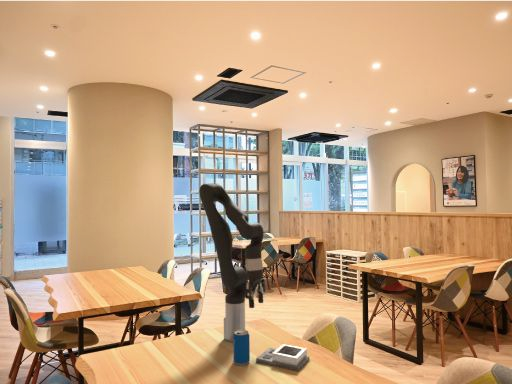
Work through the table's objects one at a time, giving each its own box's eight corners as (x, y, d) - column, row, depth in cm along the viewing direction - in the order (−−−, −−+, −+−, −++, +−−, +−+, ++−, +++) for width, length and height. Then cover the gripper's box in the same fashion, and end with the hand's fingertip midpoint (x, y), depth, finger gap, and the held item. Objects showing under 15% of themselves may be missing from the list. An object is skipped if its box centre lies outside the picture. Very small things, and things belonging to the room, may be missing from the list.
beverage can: (231, 360, 151) (231, 330, 151) (246, 358, 153) (246, 328, 154) (236, 367, 145) (236, 335, 145) (252, 364, 147) (251, 333, 148)
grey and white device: (256, 362, 149) (256, 350, 149) (269, 351, 160) (269, 340, 160) (298, 371, 141) (297, 359, 141) (309, 359, 151) (309, 348, 151)
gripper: (254, 265, 174) (256, 300, 173) (238, 270, 161) (240, 309, 160) (268, 265, 170) (271, 301, 169) (254, 271, 157) (256, 310, 157)
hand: (256, 305), depth 165 cm, fingers open, 8 cm apart
